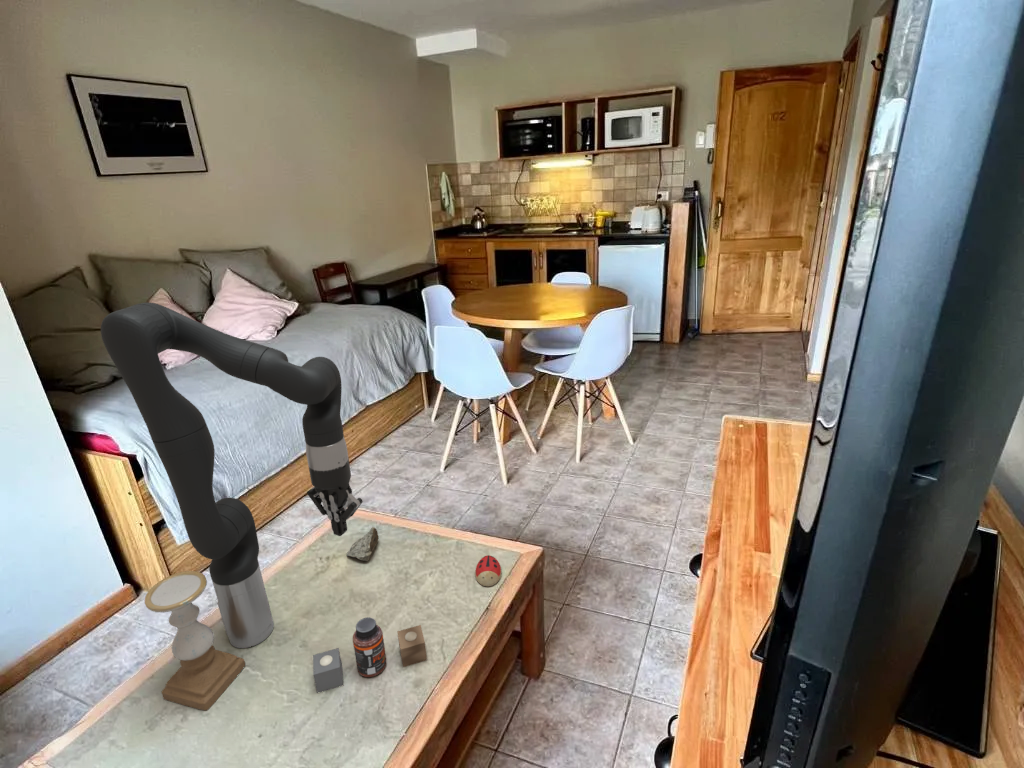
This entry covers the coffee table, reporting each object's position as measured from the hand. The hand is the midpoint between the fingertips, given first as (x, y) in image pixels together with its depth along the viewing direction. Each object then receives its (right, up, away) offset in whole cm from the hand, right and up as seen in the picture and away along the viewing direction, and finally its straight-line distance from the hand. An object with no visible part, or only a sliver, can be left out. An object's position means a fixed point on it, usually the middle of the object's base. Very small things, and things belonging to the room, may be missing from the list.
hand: (340, 533), depth 112 cm
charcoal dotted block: (-2, -29, -1) cm, 29 cm away
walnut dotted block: (+14, -27, +4) cm, 31 cm away
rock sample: (-5, -16, +35) cm, 39 cm away
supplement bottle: (+6, -28, +1) cm, 29 cm away
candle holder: (-27, -30, -1) cm, 41 cm away
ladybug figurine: (+29, -18, +26) cm, 43 cm away
